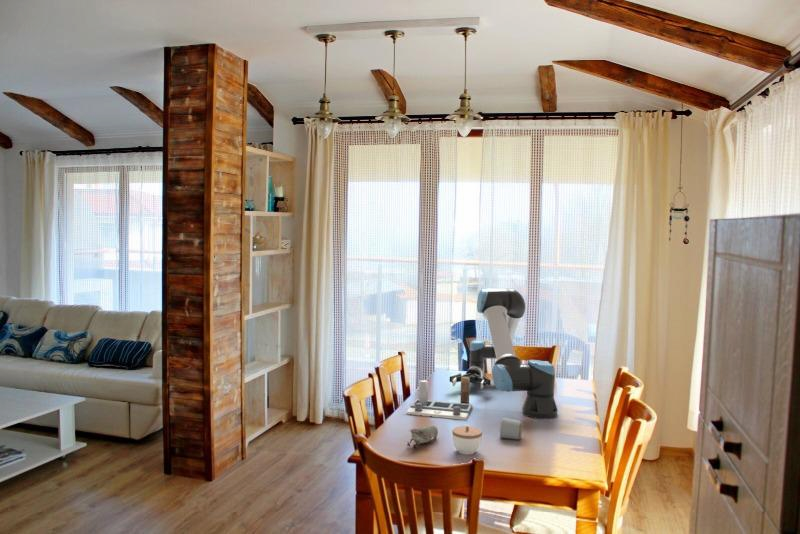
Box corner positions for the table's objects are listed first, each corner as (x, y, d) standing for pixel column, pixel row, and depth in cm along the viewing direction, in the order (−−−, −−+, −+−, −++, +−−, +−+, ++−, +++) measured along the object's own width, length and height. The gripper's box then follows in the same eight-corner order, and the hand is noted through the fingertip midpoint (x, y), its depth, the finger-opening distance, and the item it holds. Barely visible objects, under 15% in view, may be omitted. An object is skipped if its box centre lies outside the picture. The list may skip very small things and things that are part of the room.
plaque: (468, 415, 261) (468, 406, 260) (466, 420, 255) (466, 410, 254) (410, 410, 267) (410, 400, 267) (406, 414, 262) (406, 404, 261)
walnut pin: (470, 404, 278) (470, 378, 278) (461, 404, 278) (462, 378, 277) (467, 401, 282) (468, 376, 282) (459, 401, 282) (460, 376, 281)
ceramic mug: (520, 442, 229) (521, 422, 228) (499, 440, 231) (499, 420, 231) (523, 434, 239) (523, 415, 239) (502, 431, 241) (502, 413, 241)
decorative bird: (441, 440, 231) (441, 421, 230) (415, 451, 218) (416, 431, 218) (430, 436, 234) (430, 418, 233) (404, 448, 222) (404, 428, 221)
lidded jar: (486, 450, 220) (486, 425, 220) (473, 459, 211) (474, 433, 211) (460, 444, 226) (460, 419, 225) (446, 452, 217) (447, 427, 216)
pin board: (472, 408, 271) (472, 382, 271) (468, 415, 261) (469, 388, 260) (416, 403, 278) (416, 377, 278) (410, 409, 268) (410, 383, 267)
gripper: (498, 383, 305) (493, 394, 284) (449, 379, 311) (441, 390, 291) (498, 369, 304) (493, 379, 284) (450, 365, 311) (441, 374, 290)
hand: (467, 384), depth 287 cm, fingers open, 13 cm apart
